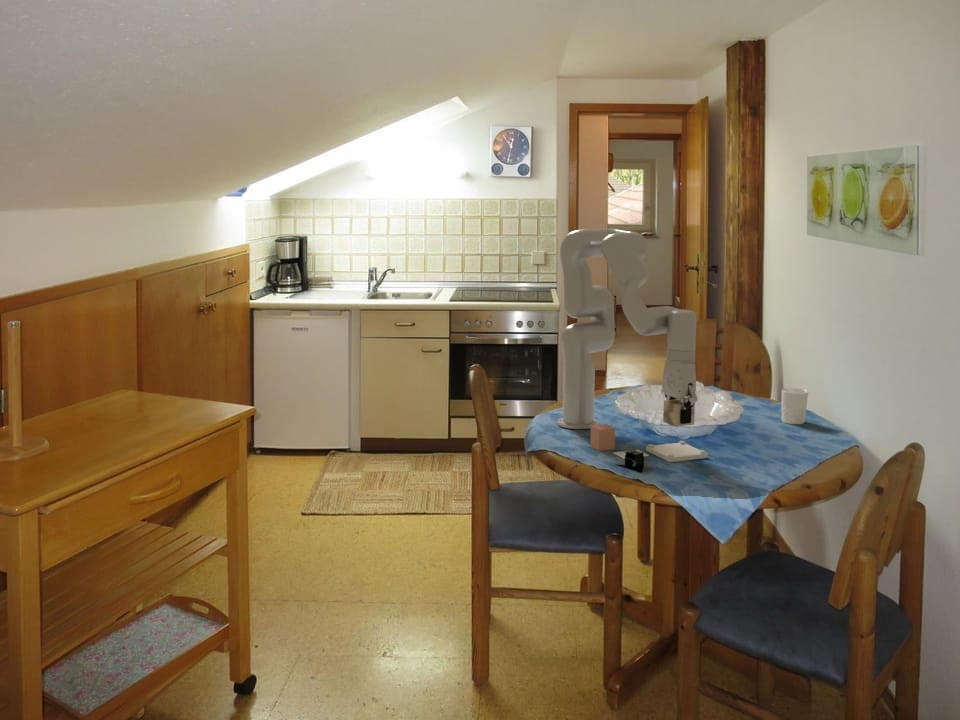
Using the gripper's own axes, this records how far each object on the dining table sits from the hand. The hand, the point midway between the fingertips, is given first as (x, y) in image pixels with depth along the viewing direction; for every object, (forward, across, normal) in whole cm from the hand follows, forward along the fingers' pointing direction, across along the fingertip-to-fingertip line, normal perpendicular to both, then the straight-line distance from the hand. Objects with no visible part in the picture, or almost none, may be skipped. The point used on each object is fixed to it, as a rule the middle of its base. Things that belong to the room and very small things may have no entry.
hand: (678, 419), depth 260 cm
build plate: (+10, 0, 0) cm, 10 cm away
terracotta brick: (+10, -13, -16) cm, 23 cm away
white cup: (+10, -18, +54) cm, 58 cm away
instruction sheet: (+10, -4, -12) cm, 16 cm away
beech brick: (+1, 0, 0) cm, 1 cm away
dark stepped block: (+11, +6, -17) cm, 21 cm away
